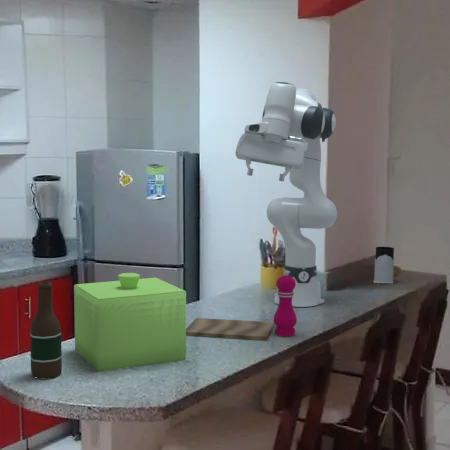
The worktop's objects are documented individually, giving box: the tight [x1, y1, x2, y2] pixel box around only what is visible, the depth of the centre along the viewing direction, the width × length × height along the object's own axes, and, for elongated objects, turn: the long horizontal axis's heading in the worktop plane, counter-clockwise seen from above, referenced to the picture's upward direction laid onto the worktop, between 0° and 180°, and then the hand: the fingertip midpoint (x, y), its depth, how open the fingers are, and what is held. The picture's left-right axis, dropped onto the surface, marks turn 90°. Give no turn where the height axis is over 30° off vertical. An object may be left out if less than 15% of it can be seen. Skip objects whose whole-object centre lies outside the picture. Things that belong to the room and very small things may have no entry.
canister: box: [73, 272, 187, 372], centre depth 208 cm, size 25×21×23 cm
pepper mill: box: [273, 270, 298, 337], centre depth 231 cm, size 7×7×20 cm
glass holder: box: [372, 246, 395, 284], centre depth 318 cm, size 9×14×15 cm, turn 170°
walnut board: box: [186, 317, 275, 341], centre depth 236 cm, size 26×18×1 cm
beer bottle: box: [29, 281, 63, 379], centre depth 189 cm, size 8×8×24 cm
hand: (265, 177), depth 218 cm, fingers open, 8 cm apart
